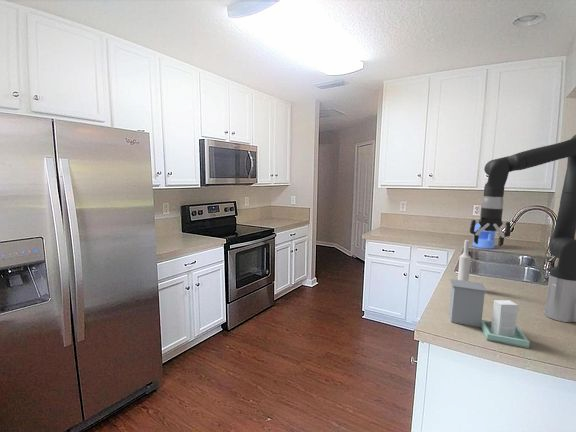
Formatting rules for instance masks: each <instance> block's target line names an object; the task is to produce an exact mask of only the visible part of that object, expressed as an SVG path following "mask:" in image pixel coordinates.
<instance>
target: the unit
mask: <svg viewBox="0 0 576 432" xmlns="http://www.w3.org/2000/svg"><path fill="white" fill-rule="evenodd" d="M450 284H451V288H450V289H451V290H450V299H449V307H448V308H449V309H448V316H449V319H450V322H451V323H455V324H461V325H466V326H471V327H477V328H481V322H482V320H483V312H484V311H483V310H484V304H485V295H486V293H488V289H487V288H486V286H485V285H484V284H483V282H478V281H469V280H468V281H463V280H458V279H455V278H450Z"/></svg>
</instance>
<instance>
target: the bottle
mask: <svg viewBox="0 0 576 432" xmlns="http://www.w3.org/2000/svg"><path fill="white" fill-rule="evenodd" d="M463 245H464V246H463V253H462V254H460V255H459V257H458V258H459V260H458V261H459V262H458V272H457V273H458V274H457V280H463V281H469V277H470V272H471V271H470V269H471V261H472V257H471V256H470V254H469V247H470V240H468V239H464V244H463Z"/></svg>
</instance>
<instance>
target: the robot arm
mask: <svg viewBox="0 0 576 432" xmlns="http://www.w3.org/2000/svg"><path fill="white" fill-rule="evenodd" d="M566 158H567V163H566V164H567V165H566V170H565V176H564V180H563V186H562V190H561V193H560V194H561V195H560V201H559V208H558V212H557V217H556V221H555V225H554V226H555V227H554V228H553V232H552V234H551V235H552V236H551V238H550V241H549V245H548V250H549V252H550V254H551V255H552V256H553V257H554V258H557V259H558V262H557V265H556V266H554V267H551V268H550V270H549V277H548V281H547V282H548V283H547V284H548V285H547V290H546V297H545V306H544V311H543V314H544V316H546V318H549V319H552V320H556V321H558V322H564V323H576V238H575V237H576V236H575V235H576V134H574V135H573V136H572V137H571V138H570V139H567V140H565V141H560V142H558V143H554V144H548V145H544V146H539V147H536V148H535V147H534V148H531V149H527V150H523V151H520V152H518V153H514V154H512V155H508V156H504V157H503V156H502V157H500V158H495V159H492V160H489V161H487V162H486V164H485V165H484V172H485V174H486V175H488V177H487V182H486V183H485V185H484V189H483V197H482V201H481V209H480V218H479V220H477V219H474V218H472V219H471V222H470V227H469V233H470V234H472V235H474V236H473V237H474V242H475V244H478V238H479V236H478V235H479V234H480V233H481V232H482V231H483V230H485V231H496V232H497V234H498V235H499V236H498V242H497V243H498V244H497V245H498V247H502V246H503V245H504V241H505V238H508V237H510V236H511V222H510V221H503V220H502V219H503V211H504V196H505V185H506V184H507V181H508V177H509V173H511V172H514V171H516V172H517V171H522V170H526V169H530V168H535V167H537V166H541V165H544V164H547V163H551V162H554V161H558V160H561V159H566ZM477 223H479V224H480V225H481V226H480V227H479V228H478V230H477V231H474V229H475V225H477ZM502 226H503V227H504V233H503V231H502V230H501V228H500V227H502ZM496 232H495V233H496Z"/></svg>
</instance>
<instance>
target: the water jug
mask: <svg viewBox="0 0 576 432" xmlns="http://www.w3.org/2000/svg"><path fill="white" fill-rule="evenodd" d="M480 226H481V225H480V224H479V223H477V225H475V229H474V231H477V230H478V228H479V227H480ZM472 235H473V240H472V247H475V248H476V249H477V248H478V249H485V250H492V249H495V244H496V242H495V241H496V240H495V238H496V237H495V235H496V231H485V230H483V231H482V232H481V233H480V234H479V235H478V236H479V238H478V244H475V242H474V234H472Z"/></svg>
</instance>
